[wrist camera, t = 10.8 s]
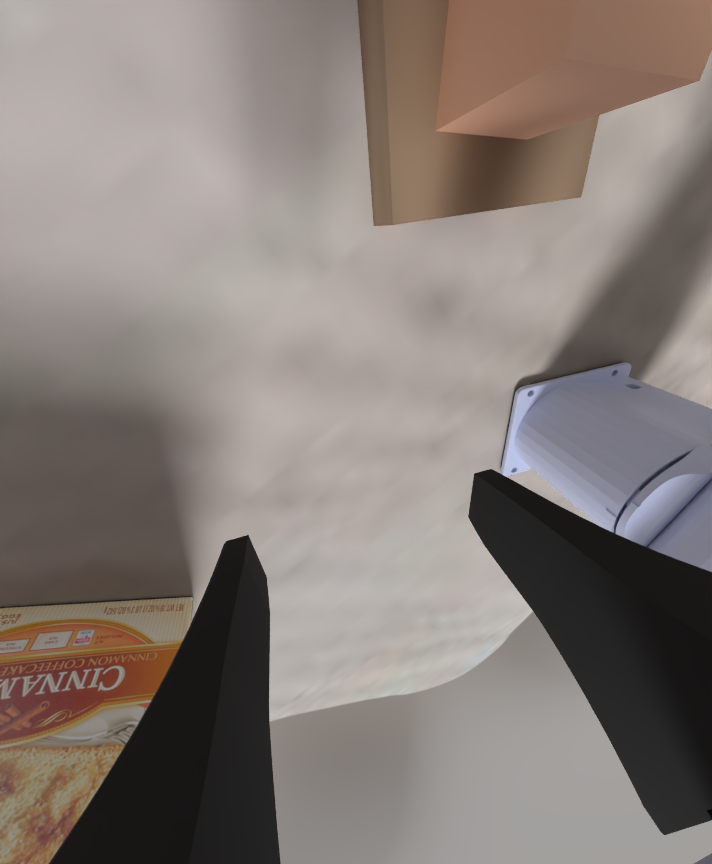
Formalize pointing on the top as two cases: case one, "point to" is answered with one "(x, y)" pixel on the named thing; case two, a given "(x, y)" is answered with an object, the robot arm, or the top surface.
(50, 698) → the coffeecake box
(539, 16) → the terracotta block
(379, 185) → the walnut base block
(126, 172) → the top surface
